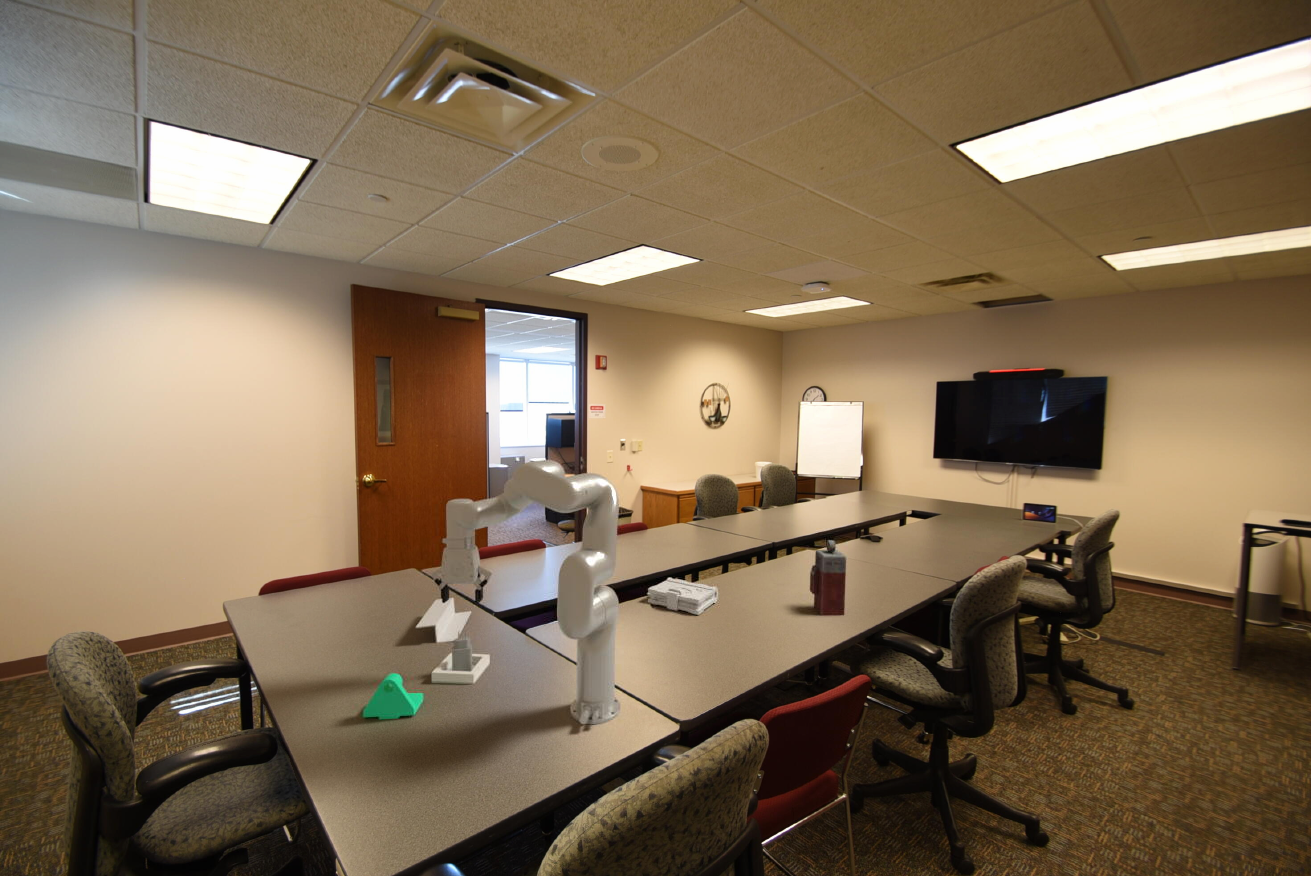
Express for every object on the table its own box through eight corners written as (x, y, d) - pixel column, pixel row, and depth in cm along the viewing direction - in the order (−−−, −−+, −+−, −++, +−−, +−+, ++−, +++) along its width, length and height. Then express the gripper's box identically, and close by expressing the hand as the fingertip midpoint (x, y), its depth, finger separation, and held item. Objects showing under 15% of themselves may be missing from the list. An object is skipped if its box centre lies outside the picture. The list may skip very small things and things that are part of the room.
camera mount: (424, 702, 140) (424, 663, 139) (414, 719, 132) (413, 678, 131) (376, 704, 138) (375, 665, 138) (363, 721, 131) (362, 680, 130)
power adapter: (472, 672, 154) (471, 631, 153) (452, 675, 152) (451, 633, 151) (472, 667, 157) (472, 627, 156) (452, 670, 155) (452, 629, 154)
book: (660, 588, 231) (661, 571, 231) (720, 601, 216) (720, 583, 216) (635, 602, 215) (636, 583, 214) (698, 617, 200) (698, 597, 199)
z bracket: (417, 645, 173) (415, 627, 173) (437, 616, 198) (435, 599, 198) (456, 640, 175) (454, 622, 175) (471, 612, 200) (469, 595, 199)
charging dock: (473, 684, 148) (473, 674, 148) (431, 682, 149) (431, 672, 149) (489, 664, 160) (489, 654, 160) (450, 662, 161) (450, 652, 161)
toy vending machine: (807, 607, 210) (809, 537, 208) (836, 608, 210) (838, 537, 208) (814, 616, 201) (817, 543, 199) (844, 616, 201) (847, 543, 199)
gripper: (425, 545, 149) (426, 605, 150) (485, 546, 148) (486, 607, 149) (437, 539, 157) (438, 596, 158) (495, 539, 156) (496, 597, 156)
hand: (462, 601), depth 153 cm, fingers open, 9 cm apart
